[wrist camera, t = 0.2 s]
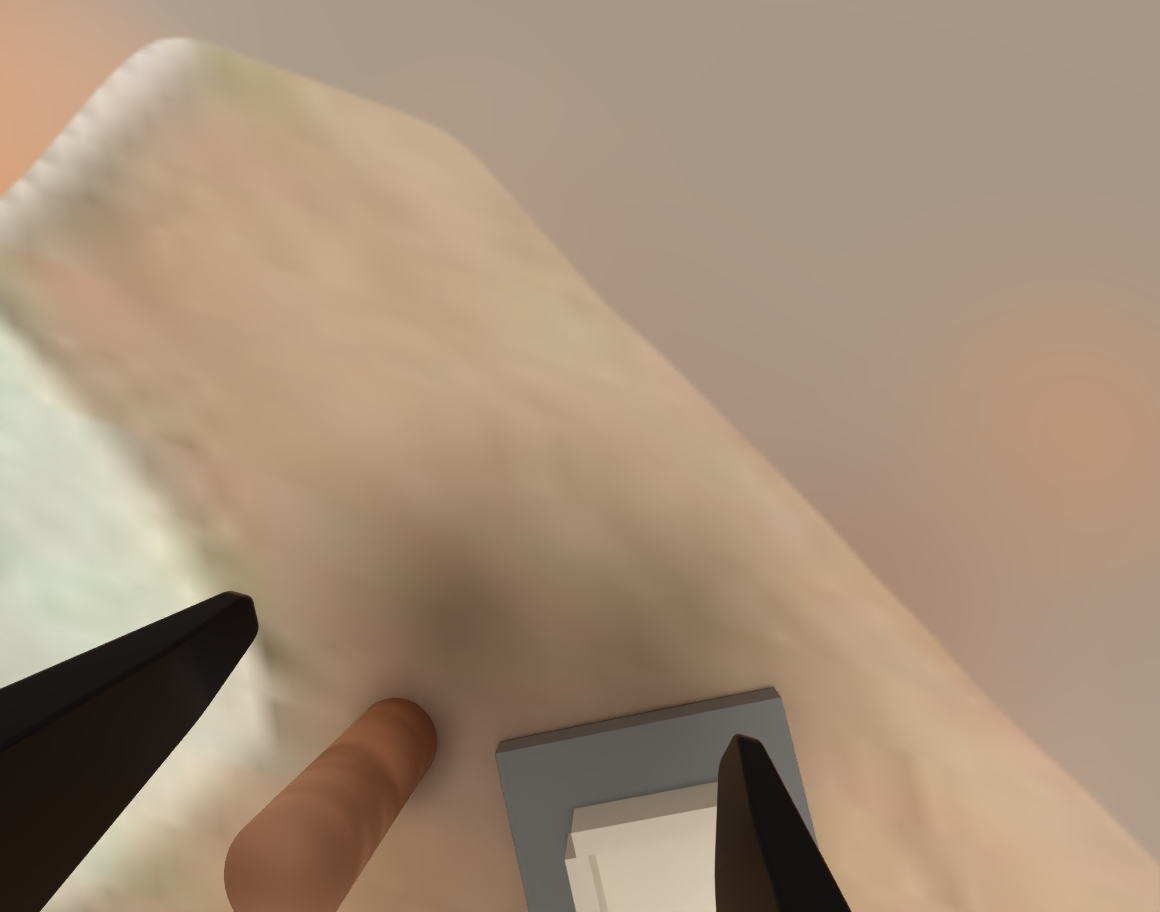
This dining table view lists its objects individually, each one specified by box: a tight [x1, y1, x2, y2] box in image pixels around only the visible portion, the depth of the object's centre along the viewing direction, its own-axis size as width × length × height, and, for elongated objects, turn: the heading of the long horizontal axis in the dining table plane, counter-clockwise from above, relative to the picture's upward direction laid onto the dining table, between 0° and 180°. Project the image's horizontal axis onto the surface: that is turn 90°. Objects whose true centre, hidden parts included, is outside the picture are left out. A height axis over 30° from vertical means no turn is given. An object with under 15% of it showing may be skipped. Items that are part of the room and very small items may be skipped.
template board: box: [495, 687, 818, 912], centre depth 21 cm, size 14×13×2 cm
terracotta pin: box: [224, 698, 436, 912], centre depth 20 cm, size 4×4×8 cm
